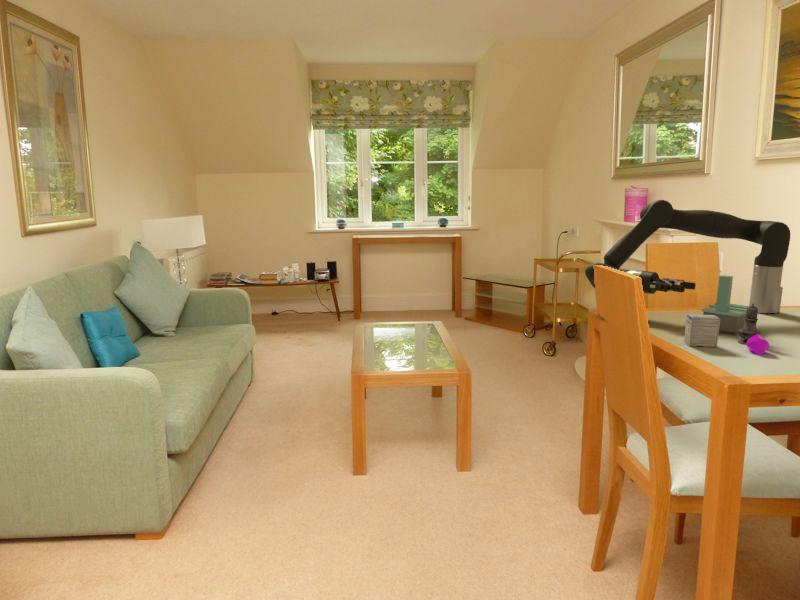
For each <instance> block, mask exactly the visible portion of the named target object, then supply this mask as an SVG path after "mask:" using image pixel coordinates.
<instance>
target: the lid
mask: <svg viewBox="0 0 800 600" xmlns="http://www.w3.org/2000/svg"><path fill="white" fill-rule="evenodd" d="M733 279H734V276H733V275H732V276H731V275H724V274H723V275H719V277H718V285H717V286H718V287H717V291H716V292H717V293H716V302H715V303H714V304H713V305H711V304H709V305H708V306H706V307H703V308H701V312H703V313H704V312H709V313H716V314H722V315H729V316H735V317H740V316H742V315H745V314H746V311H747V308H748V307H750V306H749V305H743V304H736V303H735V304H734V303H731V299H732V298H731V297H732V289H733V288H732V287H733ZM756 308H757V307H756Z"/></svg>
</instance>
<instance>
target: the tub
mask: <svg viewBox="0 0 800 600" xmlns="http://www.w3.org/2000/svg"><path fill="white" fill-rule="evenodd" d="M702 315H714V316H716V317H718V318H719V319H720V326H719V334H724V335H730V336H737V335H739V331H738V330H739V329H743V327H744V325H745V319H744V318H745V317H746V314H745V315H742V316H740V317H735V316H729V315H722V314H716V313H709V312H703V314H702Z"/></svg>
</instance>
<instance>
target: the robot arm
mask: <svg viewBox="0 0 800 600" xmlns="http://www.w3.org/2000/svg"><path fill="white" fill-rule="evenodd" d="M639 217H640V218H639V219H640V220H639V222H638V223H637V224H636V225H635V226H634V227H633V228H631V230H630V231H628V232H627V233H626V234H625V235H623V236H622V237H621V238H620V239H619V240H617V242H616V243H614V244H613V246H611V247H610V248H609V250H607V252H606V253H605V254H604V256H603V262H604V263H603V262H593V263H591V264H589V265H587V266H586V268H585V272H584V273H585V276H586V278H587V280H588V281H589V284H590V285H591V286H592V288H594V289H595V284H594V269H593V265H603V266H608V267H611V268H614V269H617V270H620V271H624V272H627V273H630V274H633V275H636V276H639V277H641V278H642V285H643V291H644V293H643V294H649V295H654V294H656V293H657V292H664V293H668V292H669V293H670V292H676V293H685V290H692V291H693V290H696V283H695V282H690V281H685V279H677V278H676V279H675V278H668V277H662V278H660V276H659V275H660V274H658V272H656V271H647V270H639V269H632V270H631V269H624V268H621V267H622V266H623V264H624V263H626V262H627V261H628V260H629V259H630V257H631V256H632V255H633V254H634V253H635V252H636V251H637V250H638V249H639V248H640V247H641V245H642V244H644V242H645V241H647V240H648V238H650V237H651V236H652V235H653V234H654V233H656V232H657V231H658V230H659V229H667V230H668V229H669V230H678V231H682V232H686V233H691V234H695V235H700V236H705V237H710V238H718V239H735V240H736V239H737V240H744V241H747V242H752V243H753V244H758V245H760V246H761V250H760V253H759V254H758V255H757V256H755V258H754V262H753V271H752V278H751V279H752V280H751V286H750V287H751V288H750V294H749V300H748V301H749V302H748V303H749V304H748V306H752V304H754V306H755V307H757V309H758V313H757V314H766V313H774V314H777V312H781V305H782V299H783V298H782V297H783V286H781V285H782V277H783V270H784V263H785V261H786V259H787V258H788V254H789V247H790V241H791V230H790V228H789V226H788V224H786V223H785V222H781V221H775V220H773V221H772V220H756V219H755V220H753V219H744V218H741V217H738V216H736V215H732V214H730V213H726V212H720V211H715V210H710V209H709V210H708V209H693V210H691V209H690V210H689V209H688V210H684V209H682V210H681V209H675V208H674V207H673V205H672V204H671V203H670V202H669V200H665V199H657V200H654V201H652V202H650V203H648V204H646V205H645V206H644V207H643V208H642V209H641V211H640V213H639ZM678 283H679V284H678Z"/></svg>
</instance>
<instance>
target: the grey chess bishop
mask: <svg viewBox="0 0 800 600" xmlns="http://www.w3.org/2000/svg"><path fill="white" fill-rule="evenodd" d="M758 314H759V313H758V309H757V308H756V307H755V306H754V304H752V306H750V307H748V308H747V311H746V317H745V318H744V319H745V325H744V327H743V329H739V330H738V331H739V334H738V335H739V336H740V338H741V339H740V340H738V341H737V343H738V344H740V345H745V346H747V345H746V344H747V341H748V339H749V338H751V337H753V336H755V335H757V334H758V335H760V336H761V334H762V332H761V331H759V330H758V329H757V322H758V321H759V319H758Z"/></svg>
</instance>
